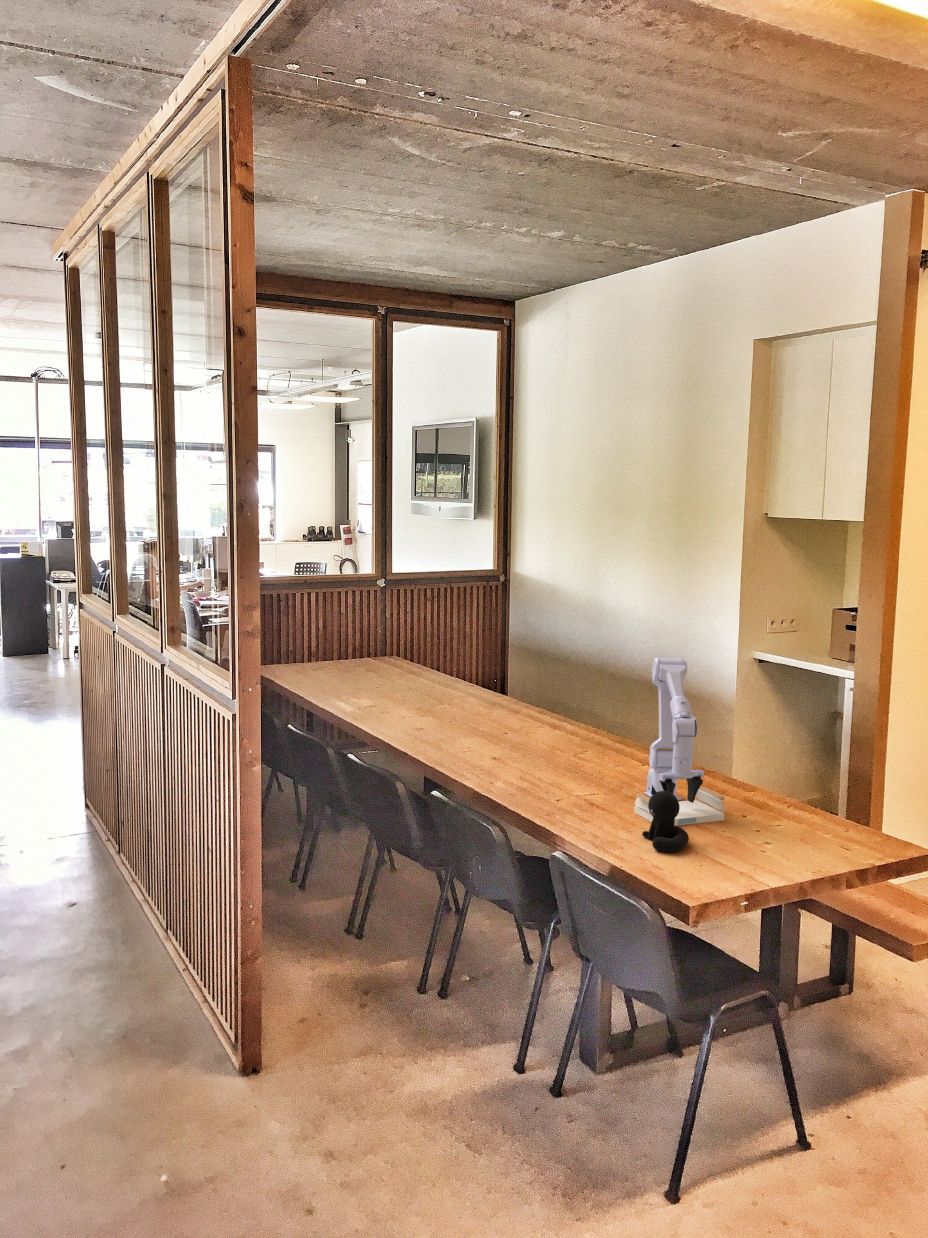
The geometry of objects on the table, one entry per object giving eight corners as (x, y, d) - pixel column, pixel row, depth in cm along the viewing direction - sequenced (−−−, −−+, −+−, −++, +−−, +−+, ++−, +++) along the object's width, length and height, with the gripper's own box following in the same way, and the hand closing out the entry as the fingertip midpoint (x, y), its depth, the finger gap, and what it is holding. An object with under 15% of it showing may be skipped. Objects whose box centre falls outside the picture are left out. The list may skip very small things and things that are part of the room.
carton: (634, 812, 303) (634, 806, 302) (696, 806, 311) (696, 799, 311) (660, 827, 290) (661, 820, 290) (724, 820, 298) (724, 814, 298)
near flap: (636, 804, 302) (629, 802, 301) (640, 793, 302) (634, 791, 301) (660, 818, 290) (653, 816, 289) (664, 807, 290) (658, 804, 289)
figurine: (627, 837, 281) (630, 784, 279) (668, 831, 287) (671, 780, 285) (662, 857, 267) (665, 801, 265) (704, 850, 272) (708, 796, 271)
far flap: (723, 811, 298) (729, 808, 299) (720, 801, 297) (726, 797, 298) (697, 798, 310) (703, 795, 311) (694, 788, 309) (700, 785, 310)
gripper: (669, 763, 292) (666, 808, 293) (711, 759, 297) (708, 804, 299) (655, 756, 298) (653, 801, 300) (697, 753, 304) (694, 797, 305)
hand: (679, 802), depth 300 cm, fingers open, 7 cm apart
